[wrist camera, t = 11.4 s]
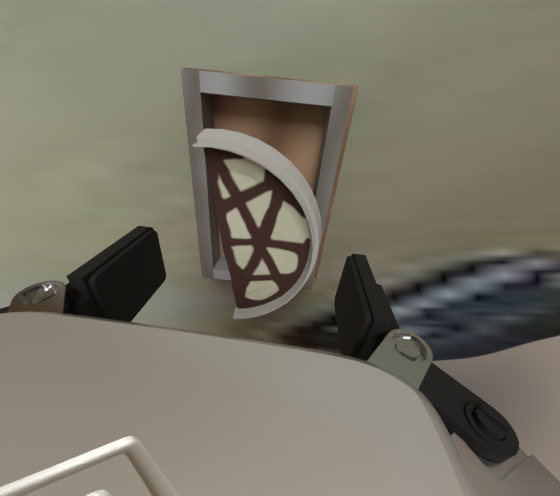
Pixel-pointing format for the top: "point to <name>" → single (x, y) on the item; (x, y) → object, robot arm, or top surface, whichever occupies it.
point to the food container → (261, 220)
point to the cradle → (266, 139)
